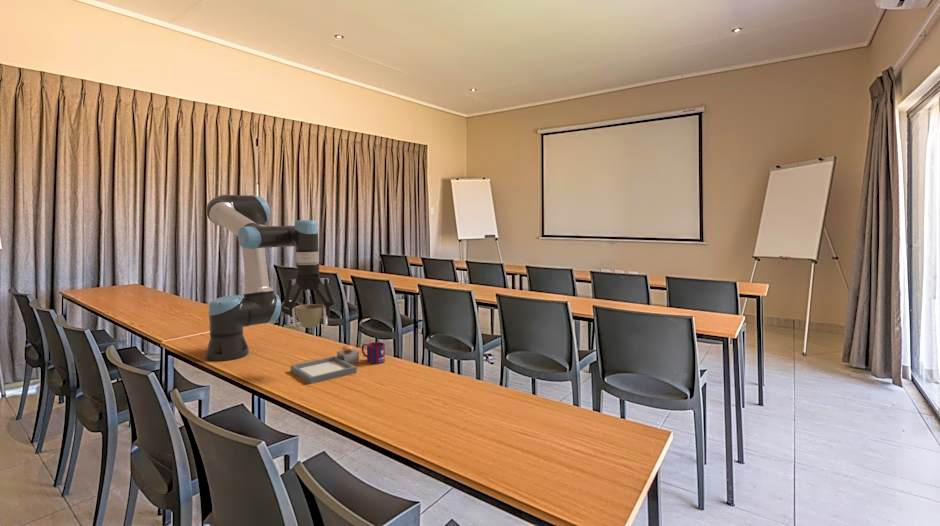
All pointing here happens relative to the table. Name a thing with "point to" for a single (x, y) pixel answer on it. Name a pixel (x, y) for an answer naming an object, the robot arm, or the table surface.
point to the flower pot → (309, 314)
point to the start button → (347, 348)
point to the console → (349, 356)
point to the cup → (375, 352)
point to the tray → (323, 369)
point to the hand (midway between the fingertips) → (310, 325)
